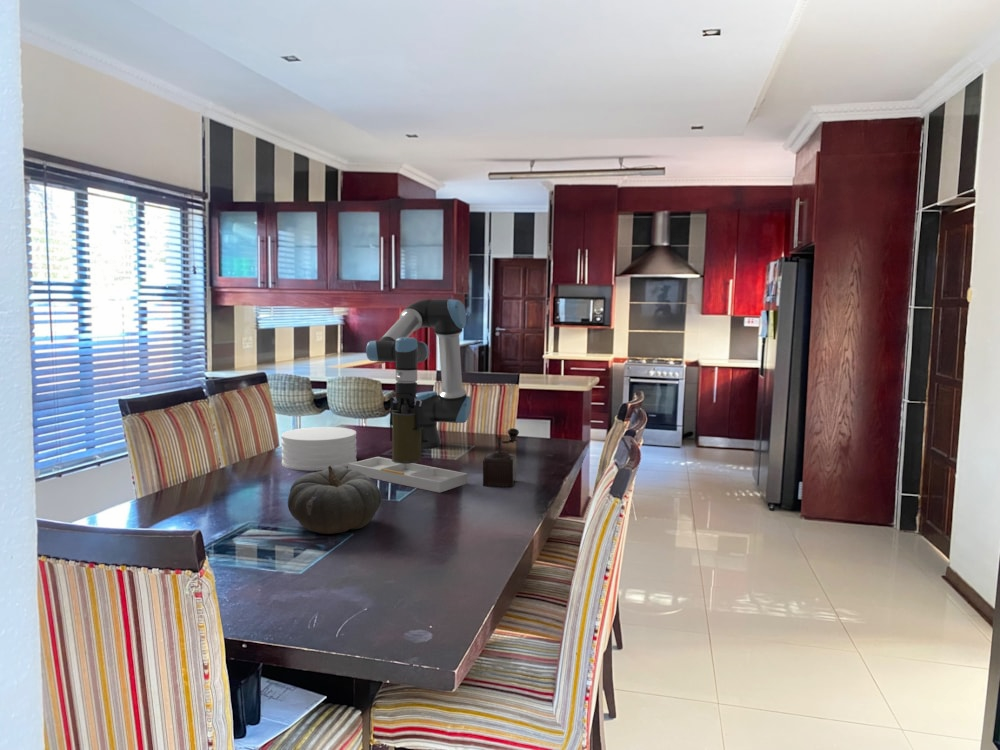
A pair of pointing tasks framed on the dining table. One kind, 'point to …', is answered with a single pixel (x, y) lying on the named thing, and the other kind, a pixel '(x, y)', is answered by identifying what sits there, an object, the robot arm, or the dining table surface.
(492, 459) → the pepper mill
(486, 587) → the dining table surface
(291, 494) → the gourd
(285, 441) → the plate stack
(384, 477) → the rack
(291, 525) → the dining table surface
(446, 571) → the dining table surface
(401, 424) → the canister
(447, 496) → the dining table surface
